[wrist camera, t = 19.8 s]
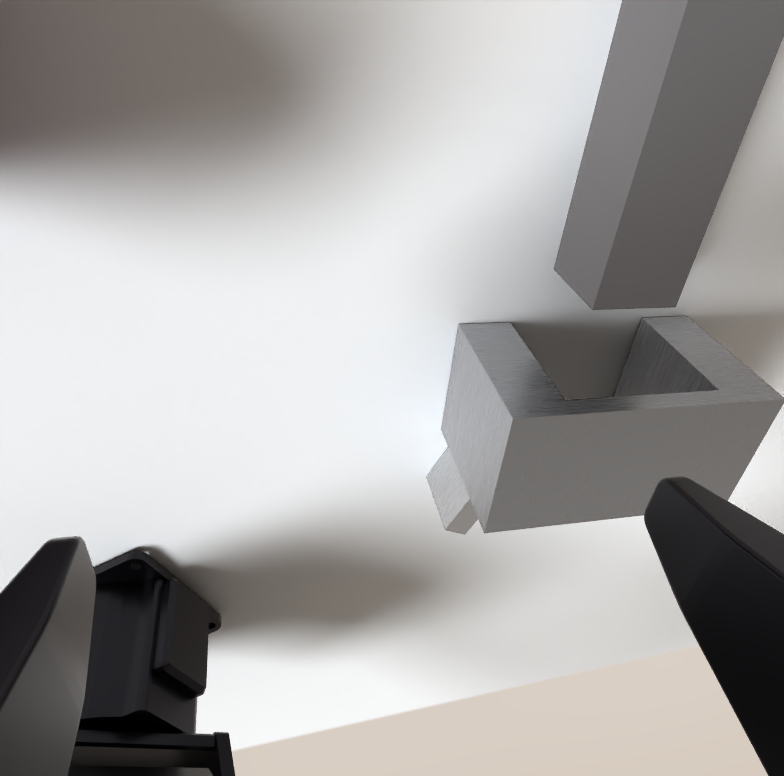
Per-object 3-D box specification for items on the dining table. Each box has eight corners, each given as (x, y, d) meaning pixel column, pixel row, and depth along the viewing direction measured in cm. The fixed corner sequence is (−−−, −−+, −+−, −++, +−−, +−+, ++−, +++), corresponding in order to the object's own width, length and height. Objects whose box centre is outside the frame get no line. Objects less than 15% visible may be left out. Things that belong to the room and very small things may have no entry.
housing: (631, 464, 29) (701, 558, 24) (425, 484, 27) (461, 589, 22) (694, 315, 24) (794, 398, 20) (449, 324, 22) (501, 419, 18)
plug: (640, 267, 22) (707, 321, 19) (540, 269, 21) (592, 326, 18) (833, -288, 14) (1004, -353, 11) (683, -321, 13) (822, -401, 10)
